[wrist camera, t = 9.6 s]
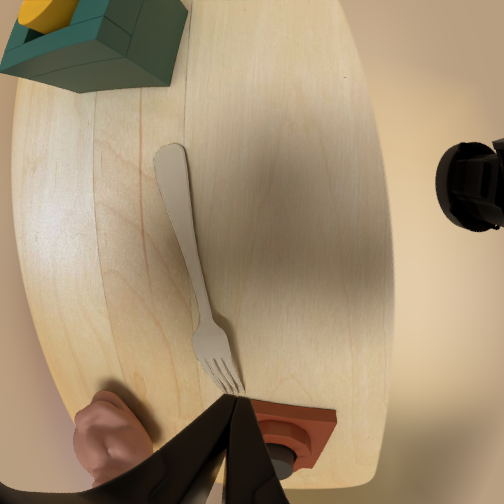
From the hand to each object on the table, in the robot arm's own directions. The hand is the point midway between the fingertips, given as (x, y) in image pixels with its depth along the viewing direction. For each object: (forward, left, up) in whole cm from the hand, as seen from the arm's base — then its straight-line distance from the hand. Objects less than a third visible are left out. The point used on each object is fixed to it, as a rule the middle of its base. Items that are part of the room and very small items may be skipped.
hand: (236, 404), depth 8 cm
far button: (-3, +16, -10) cm, 19 cm away
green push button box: (+14, -16, -13) cm, 25 cm away
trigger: (+14, -16, -5) cm, 22 cm away
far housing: (-3, +16, -13) cm, 21 cm away
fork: (+5, +2, -13) cm, 14 cm away
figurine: (+13, +20, -13) cm, 27 cm away
